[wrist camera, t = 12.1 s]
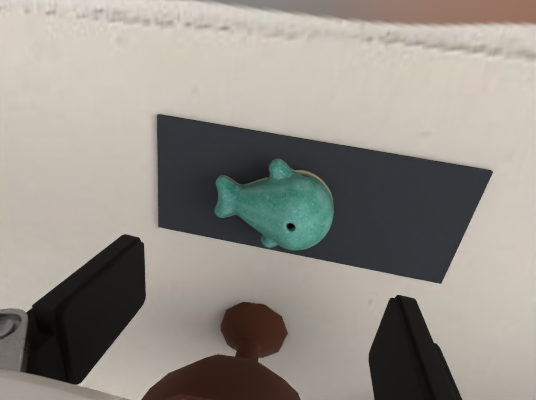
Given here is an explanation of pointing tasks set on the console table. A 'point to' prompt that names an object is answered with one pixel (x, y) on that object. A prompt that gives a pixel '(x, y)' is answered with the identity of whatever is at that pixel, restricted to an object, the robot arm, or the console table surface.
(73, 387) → the robot arm
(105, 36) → the console table surface
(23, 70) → the console table surface
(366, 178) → the plate
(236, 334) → the ice cream bowl
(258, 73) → the console table surface
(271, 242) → the whale figurine
